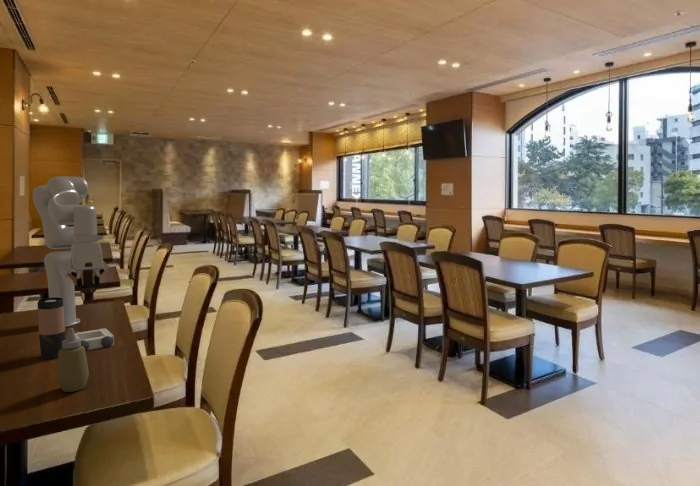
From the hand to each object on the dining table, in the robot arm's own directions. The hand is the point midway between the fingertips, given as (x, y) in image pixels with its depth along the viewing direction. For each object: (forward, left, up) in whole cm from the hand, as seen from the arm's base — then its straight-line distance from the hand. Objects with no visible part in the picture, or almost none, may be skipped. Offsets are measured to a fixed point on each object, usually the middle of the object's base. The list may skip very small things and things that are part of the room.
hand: (88, 287), depth 174 cm
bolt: (0, 0, -6) cm, 6 cm away
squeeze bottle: (+41, -13, -22) cm, 48 cm away
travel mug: (+6, -13, -22) cm, 26 cm away
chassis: (0, 0, -22) cm, 22 cm away
